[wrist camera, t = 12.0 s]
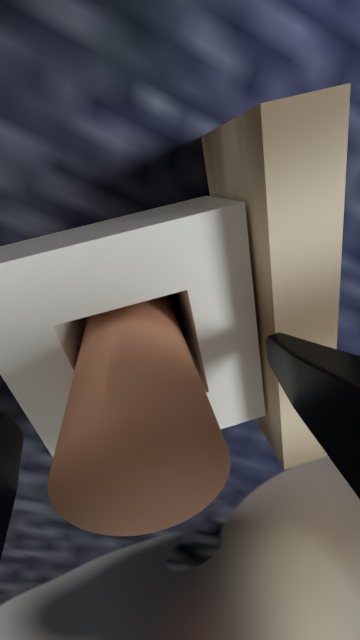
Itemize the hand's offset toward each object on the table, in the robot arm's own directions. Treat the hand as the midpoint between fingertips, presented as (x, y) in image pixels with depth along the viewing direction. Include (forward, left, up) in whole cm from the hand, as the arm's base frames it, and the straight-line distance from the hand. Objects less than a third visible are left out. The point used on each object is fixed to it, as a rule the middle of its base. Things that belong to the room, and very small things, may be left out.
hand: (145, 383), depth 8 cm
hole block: (0, 0, -5) cm, 5 cm away
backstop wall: (0, -5, -5) cm, 7 cm away
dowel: (0, 0, -5) cm, 5 cm away
